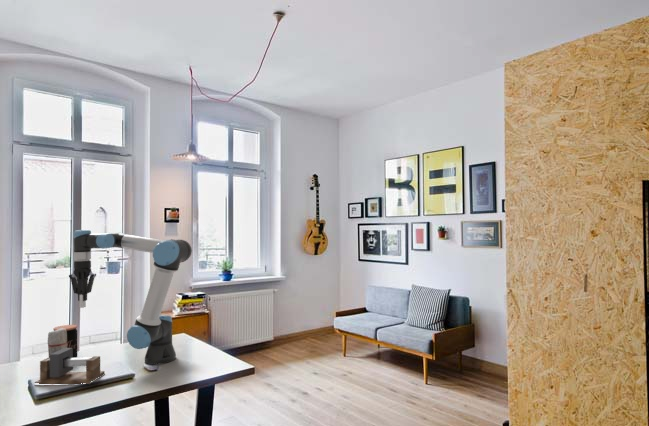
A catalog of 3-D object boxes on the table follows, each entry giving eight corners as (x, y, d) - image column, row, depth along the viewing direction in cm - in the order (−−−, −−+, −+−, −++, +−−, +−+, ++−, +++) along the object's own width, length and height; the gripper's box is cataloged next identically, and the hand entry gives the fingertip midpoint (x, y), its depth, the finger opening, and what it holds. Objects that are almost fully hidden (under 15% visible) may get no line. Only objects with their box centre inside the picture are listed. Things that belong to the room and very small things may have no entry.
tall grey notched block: (72, 369, 194) (72, 347, 195) (58, 377, 184) (58, 354, 185) (64, 369, 194) (64, 348, 195) (49, 377, 185) (49, 354, 185)
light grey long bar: (95, 364, 191) (95, 356, 191) (91, 366, 188) (91, 358, 188) (50, 365, 192) (50, 357, 192) (45, 367, 188) (45, 359, 188)
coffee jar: (52, 366, 209) (52, 330, 210) (54, 360, 219) (54, 326, 220) (76, 362, 214) (76, 327, 215) (78, 357, 224) (78, 323, 225)
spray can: (58, 373, 199) (58, 331, 199) (43, 372, 200) (44, 330, 201) (72, 367, 207) (72, 327, 208) (58, 366, 208) (58, 326, 209)
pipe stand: (104, 374, 196) (104, 353, 196) (88, 384, 183) (88, 362, 183) (54, 375, 196) (54, 354, 196) (34, 385, 183) (34, 363, 183)
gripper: (99, 259, 214) (99, 305, 213) (74, 260, 214) (74, 306, 213) (90, 260, 207) (91, 308, 206) (65, 261, 207) (65, 309, 206)
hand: (82, 307), depth 209 cm, fingers closed
